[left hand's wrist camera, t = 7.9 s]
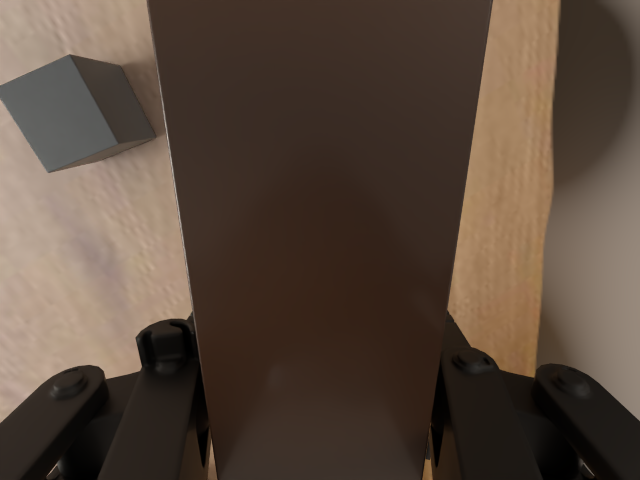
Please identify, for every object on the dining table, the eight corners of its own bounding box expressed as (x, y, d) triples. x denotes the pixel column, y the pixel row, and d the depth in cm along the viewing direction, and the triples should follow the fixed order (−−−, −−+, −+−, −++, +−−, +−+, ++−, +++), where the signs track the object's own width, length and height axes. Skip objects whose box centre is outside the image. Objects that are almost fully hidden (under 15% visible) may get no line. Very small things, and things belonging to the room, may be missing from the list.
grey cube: (156, 137, 25) (119, 143, 20) (97, 161, 26) (47, 173, 21) (120, 64, 23) (69, 53, 19) (57, 92, 24) (-8, 88, 19)
